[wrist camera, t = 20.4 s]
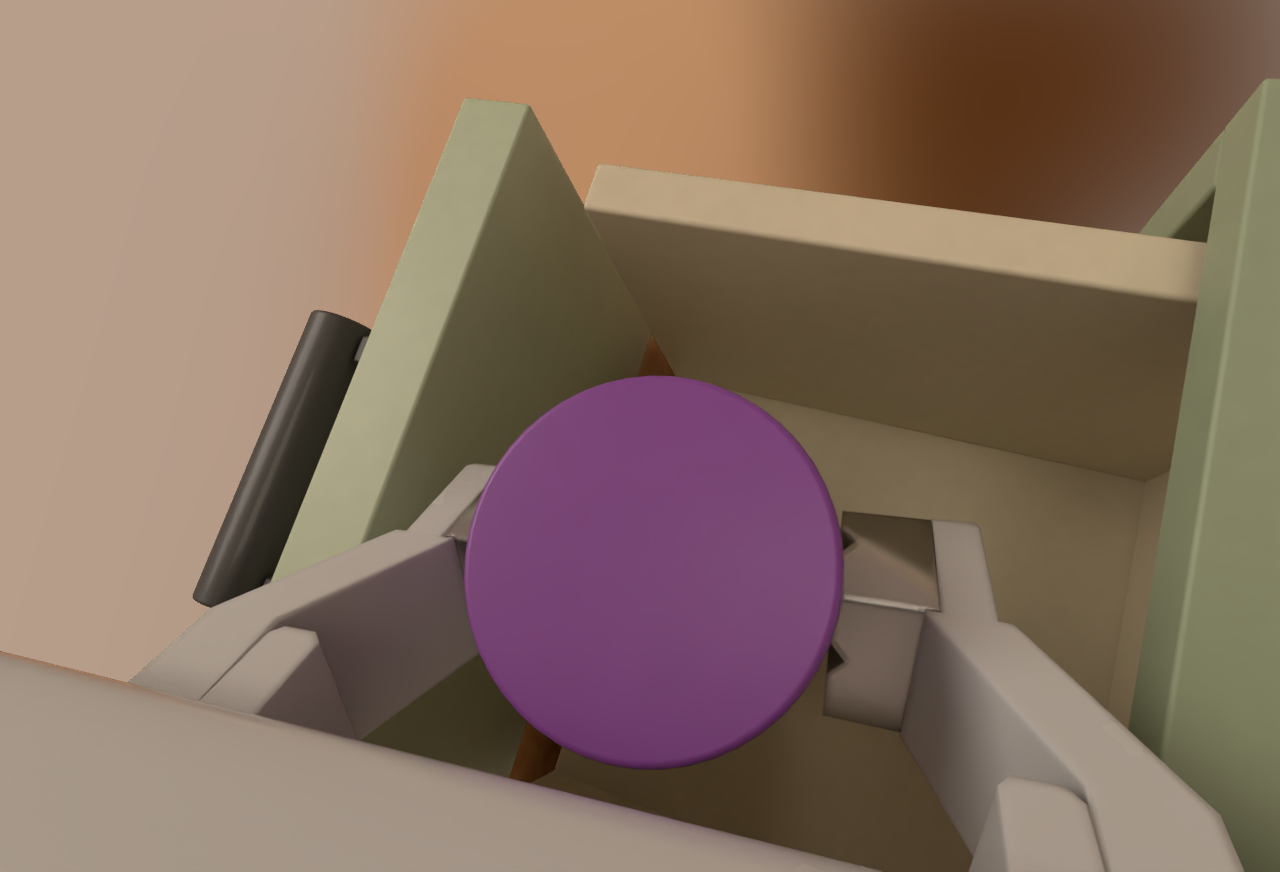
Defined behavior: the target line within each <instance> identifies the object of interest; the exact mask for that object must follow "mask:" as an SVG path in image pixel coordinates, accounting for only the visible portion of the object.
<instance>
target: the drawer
mask: <svg viewBox="0 0 1280 872" xmlns="http://www.w3.org/2000/svg"><path fill="white" fill-rule="evenodd" d="M1206 246H1207V243H1203V242H1196V241H1188V240H1180V239H1173V238H1165V237H1157V236H1150V235H1142V234H1134V233H1127V232H1119V231H1112V230H1104V229H1097V228H1089V227H1081V226H1073V225H1066V224H1058V223H1051V222H1043V221H1036V220H1027V219H1020V218H1013V217H1005V216H997V215H989V214H982V213H975V212H967V211H959V210H952V209H944V208H936V207H929V206H921V205H914V204H906V203H898V202H891V201H882V200H876V199H867V198H860V197H853V196H845V195H837V194H830V193H822V192H815V191H807V190H799V189H792V188H784V187H777V186H768V185H761V184H754V183H746V182H738V181H731V180H723V179H716V178H708V177H700V176H692V175H685V174H678V173H670V172H662V171H655V170H647V169H639V168H632V167H624V166H617V165H609V164H599V165H598V167H597V169H596V173H595V175H594V178H593V181H592V184H591V186H590V189H589V192H588V195H587V198H586V201H585V204H584V205H583V203H582V201H581V199H580V197H579V196H578V193H577V192H576V190H575V188H574V186H573V184H572V182H571V181H570V179H569V177H568V175H567V173H566V171H565V169H564V168H563V166H562V164H561V162H560V160H559V158H558V157H557V155H556V153H555V151H554V149H553V147H552V145H551V143H550V142H549V140H548V138H547V136H546V134H545V132H544V130H543V129H542V127H541V125H540V123H539V121H538V119H537V118H536V116H535V114H534V112H533V110H532V108H531V106H529V105H527V104H519V103H510V102H501V101H492V100H482V99H473V98H465V99H464V101H463V103H462V106H461V108H460V111H459V113H458V116H457V118H456V121H455V123H454V126H453V128H452V131H451V134H450V136H449V138H448V141H447V143H446V146H445V148H444V151H443V153H442V156H441V158H440V161H439V163H438V166H437V168H436V171H435V173H434V176H433V179H432V181H431V184H430V186H429V189H428V191H427V194H426V196H425V198H424V201H423V203H422V206H421V208H420V211H419V213H418V216H417V218H416V221H415V223H414V226H413V228H412V231H411V233H410V236H409V238H408V241H407V243H406V246H405V248H404V251H403V253H402V256H401V258H400V261H399V263H398V266H397V268H396V271H395V273H394V276H393V278H392V281H391V283H390V286H389V288H388V291H387V293H386V296H385V298H384V301H383V303H382V306H381V308H380V311H379V313H378V316H377V318H376V320H375V323H374V325H373V328H372V330H371V329H369V328H367V327H366V326H363V325H362V324H360V323H358V322H356V321H353V320H351V319H348V318H346V317H343V316H340V315H338V314H334V313H331V312H327V311H319V310H315V311H313V312H312V313H311V315H310V317H309V319H308V322H307V324H306V327H305V329H304V332H303V334H302V336H301V339H300V341H299V344H298V346H297V348H296V351H295V353H294V355H293V358H292V360H291V363H290V365H289V367H288V369H287V372H286V374H285V377H284V379H283V381H282V384H281V386H280V388H279V391H278V393H277V396H276V398H275V400H274V403H273V405H272V407H271V410H270V412H269V415H268V417H267V419H266V422H265V424H264V426H263V429H262V431H261V434H260V436H259V438H258V441H257V443H256V446H255V448H254V450H253V453H252V455H251V457H250V460H249V462H248V465H247V467H246V469H245V472H244V474H243V476H242V479H241V481H240V484H239V486H238V488H237V491H236V493H235V495H234V498H233V500H232V503H231V505H230V507H229V510H228V512H227V514H226V517H225V519H224V522H223V524H222V526H221V529H220V531H219V534H218V536H217V538H216V541H215V543H214V546H213V548H212V550H211V553H210V555H209V557H208V560H207V562H206V564H205V567H204V569H203V572H202V574H201V576H200V579H199V581H198V583H197V586H196V588H195V591H194V593H193V599H194V600H195V601H197V602H199V603H200V604H202V605H205V606H207V607H210V608H212V607H214V606H217V605H219V604H221V603H224V602H226V601H228V600H231V599H233V598H235V597H238V596H240V595H242V594H245V593H247V592H250V591H252V590H254V589H257V588H259V587H261V586H264V585H266V584H268V583H271V582H273V581H276V580H278V579H280V578H283V577H285V576H287V575H290V574H292V573H294V572H297V571H299V570H301V569H304V568H306V567H309V566H311V565H313V564H316V563H318V562H320V561H323V560H325V559H327V558H330V557H332V556H335V555H337V554H339V553H342V552H344V551H346V550H349V549H351V548H353V547H356V546H358V545H360V544H363V543H365V542H368V541H370V540H372V539H375V538H377V537H379V536H382V535H384V534H386V533H389V532H391V531H394V530H403V531H407V530H408V529H409V527H410V526H411V525H412V524H413V523H414V522H415V521H416V520H417V519H418V518H419V517H420V515H421V514H422V513H423V512H424V511H425V510H426V509H427V508H428V507H429V506H430V505H431V503H432V502H433V501H434V500H435V499H436V498H437V497H438V496H439V495H440V494H441V493H442V491H443V490H444V489H445V488H446V487H447V486H448V485H449V484H450V483H451V482H452V481H453V479H454V478H455V477H456V476H457V475H458V474H459V473H460V472H461V471H462V470H463V469H464V468H465V467H466V466H467V465H471V464H475V463H477V464H485V465H493V466H496V465H497V464H498V462H499V461H500V460H501V458H502V457H503V456H504V454H505V453H506V451H507V450H508V449H509V447H510V446H511V445H512V444H513V443H514V442H515V441H516V440H517V438H518V437H519V436H520V435H521V434H522V433H523V432H524V431H525V430H526V429H527V428H528V427H529V426H530V425H532V424H533V423H534V422H535V421H536V420H537V419H539V418H540V417H541V416H542V415H543V414H545V413H546V412H548V411H549V410H551V409H552V408H554V407H555V406H557V405H558V404H560V403H561V402H563V401H565V400H567V399H569V398H571V397H573V396H574V395H576V394H578V393H580V392H582V391H585V390H588V389H590V388H593V387H596V386H599V385H601V384H604V383H608V382H613V381H617V380H621V379H626V378H633V377H637V376H638V373H639V370H640V367H641V363H642V360H643V357H644V354H645V351H646V348H647V345H648V342H649V338H650V335H651V333H652V335H653V337H654V338H655V340H656V342H657V344H658V346H659V348H660V349H661V351H662V353H663V355H664V357H665V359H666V361H667V362H668V364H669V366H670V368H671V370H672V372H673V373H674V375H675V377H682V378H689V379H695V380H699V381H703V382H706V383H710V384H713V385H717V386H720V387H722V388H724V389H727V390H729V391H731V392H734V393H736V394H738V395H741V396H742V397H744V398H746V399H747V400H749V401H751V402H752V403H754V404H756V405H757V406H759V407H761V408H762V409H764V410H765V411H766V412H767V413H769V414H770V415H771V416H772V417H774V418H775V419H776V420H777V421H779V422H780V423H781V424H782V425H783V426H784V427H785V428H786V429H787V430H788V431H789V432H790V433H791V434H792V435H793V436H794V437H795V438H796V440H797V441H798V442H799V443H800V444H801V446H802V447H803V448H804V450H805V451H806V453H807V454H808V455H809V457H810V458H811V459H812V461H813V462H814V464H815V466H816V467H817V469H818V471H819V473H820V475H821V477H822V479H823V480H824V482H825V484H826V486H827V489H828V491H829V494H830V497H831V499H832V502H833V504H834V507H835V510H836V514H837V518H838V522H839V526H840V523H841V515H842V510H845V511H854V512H863V513H872V514H881V515H890V516H899V517H909V518H918V519H927V520H930V519H938V520H949V521H960V522H971V523H976V524H977V525H978V526H979V527H980V529H981V533H982V538H983V543H984V548H985V553H986V558H987V563H988V568H989V573H990V578H991V582H992V587H993V592H994V597H995V602H996V607H997V612H998V617H999V622H1003V623H1009V624H1014V625H1016V626H1017V627H1018V628H1019V629H1020V630H1021V631H1022V632H1023V633H1024V634H1025V635H1026V636H1027V637H1029V638H1030V639H1031V640H1032V641H1033V642H1034V643H1035V644H1036V645H1037V646H1038V647H1039V648H1040V649H1042V650H1043V651H1044V652H1045V653H1046V654H1047V655H1048V656H1049V657H1050V658H1051V659H1052V660H1053V661H1055V662H1056V663H1057V664H1058V665H1059V666H1060V667H1061V668H1062V669H1063V670H1064V671H1065V672H1066V673H1067V674H1069V675H1070V676H1071V677H1072V678H1073V679H1074V680H1075V681H1076V682H1077V683H1078V684H1079V685H1080V686H1082V687H1083V688H1084V689H1085V690H1086V691H1087V692H1088V693H1089V694H1090V695H1091V696H1092V697H1093V698H1094V699H1096V700H1097V701H1098V702H1099V703H1100V704H1101V705H1102V706H1103V707H1104V708H1105V709H1106V710H1107V711H1109V712H1110V713H1111V714H1112V715H1113V716H1114V717H1115V718H1116V719H1117V720H1118V721H1119V722H1120V723H1121V724H1123V725H1124V726H1125V727H1126V728H1127V729H1128V727H1129V721H1130V715H1131V709H1132V702H1133V696H1134V690H1135V684H1136V678H1137V672H1138V665H1139V659H1140V653H1141V647H1142V641H1143V635H1144V628H1145V622H1146V616H1147V610H1148V604H1149V598H1150V591H1151V585H1152V579H1153V573H1154V567H1155V561H1156V554H1157V548H1158V542H1159V536H1160V530H1161V524H1162V517H1163V511H1164V505H1165V499H1166V493H1167V487H1168V480H1169V474H1170V468H1171V462H1172V456H1173V450H1174V443H1175V437H1176V431H1177V425H1178V419H1179V413H1180V406H1181V400H1182V394H1183V388H1184V382H1185V376H1186V369H1187V363H1188V357H1189V351H1190V345H1191V339H1192V332H1193V326H1194V320H1195V314H1196V308H1197V302H1198V295H1199V289H1200V283H1201V277H1202V271H1203V265H1204V258H1205V252H1206ZM827 654H828V651H827V653H826V655H825V657H824V659H823V661H822V663H821V665H820V667H819V670H818V671H817V673H816V674H815V676H814V677H813V679H812V680H811V682H810V683H809V685H808V687H807V688H806V690H805V691H804V693H803V694H802V695H801V696H800V697H799V699H798V700H797V701H796V702H795V703H794V704H793V705H792V707H791V708H790V709H789V710H788V711H787V712H786V713H785V714H784V716H782V717H781V718H780V719H779V720H778V721H776V722H775V723H774V724H773V725H772V726H771V727H769V728H768V729H767V730H766V731H765V732H764V733H762V734H761V735H759V736H758V737H756V738H754V739H753V740H751V741H750V742H748V743H746V744H745V745H743V746H742V747H740V748H738V749H736V750H734V751H732V752H729V753H727V754H725V755H723V756H720V757H718V758H716V759H713V760H710V761H706V762H703V763H699V764H695V765H692V766H688V767H681V768H673V769H665V770H635V769H628V768H622V767H616V766H611V765H606V764H603V763H600V762H597V761H594V760H591V759H588V758H585V757H582V756H580V755H578V754H576V753H574V752H572V751H570V750H568V749H566V748H564V747H562V748H561V751H560V754H559V757H558V761H557V764H556V767H555V770H554V771H552V772H550V773H548V774H546V775H544V776H543V777H541V778H539V779H537V780H535V781H533V782H532V783H531V784H535V785H539V786H543V787H547V788H551V789H555V790H559V791H563V792H567V793H571V794H575V795H579V796H583V797H587V798H591V799H595V800H599V801H603V802H607V803H611V804H615V805H619V806H623V807H627V808H631V809H635V810H639V811H643V812H647V813H651V814H655V815H659V816H663V817H667V818H671V819H675V820H679V821H683V822H687V823H691V824H695V825H699V826H703V827H707V828H711V829H715V830H719V831H723V832H727V833H731V834H735V835H739V836H743V837H747V838H751V839H755V840H759V841H763V842H767V843H771V844H775V845H779V846H783V847H787V848H791V849H795V850H799V851H803V852H807V853H811V854H816V855H820V856H824V857H828V858H832V859H836V860H840V861H844V862H848V863H852V864H856V865H860V866H864V867H868V868H872V869H876V870H880V871H884V872H969V869H970V866H971V863H972V860H973V856H972V854H971V852H970V851H969V849H968V848H967V846H966V844H965V843H964V841H963V839H962V838H961V836H960V834H959V833H958V831H957V829H956V828H955V826H954V824H953V823H952V821H951V820H950V818H949V816H948V815H947V813H946V811H945V810H944V808H943V806H942V805H941V803H940V801H939V800H938V798H937V796H936V795H935V793H934V791H933V790H932V788H931V787H930V785H929V783H928V782H927V780H926V778H925V777H924V775H923V773H922V772H921V770H920V768H919V767H918V765H917V763H916V762H915V760H914V759H913V757H912V755H911V754H910V752H909V750H908V749H907V747H906V745H905V744H904V742H903V740H902V739H901V737H900V732H895V731H891V730H886V729H882V728H878V727H873V726H869V725H864V724H860V723H855V722H851V721H846V720H842V719H837V718H833V717H828V716H824V715H823V704H824V689H825V675H826V663H827ZM526 724H527V720H526V719H524V718H523V717H522V716H521V715H520V714H519V713H518V712H517V711H516V709H515V708H514V707H513V706H512V705H511V703H510V702H509V701H508V700H507V699H506V698H505V696H504V695H503V694H502V692H501V691H500V689H499V687H498V686H497V684H496V683H495V681H494V680H493V678H492V677H491V675H490V673H489V672H488V669H487V667H486V665H485V663H484V661H483V659H482V657H481V655H480V653H479V654H478V655H477V656H475V657H474V658H473V659H471V660H470V661H468V662H467V663H466V664H464V665H463V666H461V667H460V668H459V669H457V670H456V671H455V672H453V673H452V674H450V675H449V676H448V677H446V678H445V679H443V680H442V681H441V682H439V683H438V684H437V685H435V686H434V687H432V688H431V689H430V690H428V691H427V692H425V693H424V694H423V695H421V696H420V697H419V698H417V699H416V700H414V701H413V702H412V703H410V704H409V705H407V706H406V707H405V708H403V709H402V710H401V711H399V712H398V713H396V714H395V715H394V716H392V717H391V718H389V719H388V720H387V721H385V722H384V723H383V724H381V725H380V726H378V727H377V728H376V729H374V730H373V731H372V732H370V733H369V734H367V735H366V736H365V737H363V738H362V739H360V740H359V741H363V742H367V743H371V744H375V745H379V746H383V747H387V748H391V749H395V750H399V751H403V752H407V753H411V754H415V755H419V756H423V757H427V758H431V759H435V760H439V761H443V762H447V763H451V764H455V765H459V766H463V767H467V768H471V769H475V770H479V771H483V772H487V773H491V774H495V775H499V776H503V777H507V778H509V777H510V774H511V771H512V767H513V764H514V761H515V758H516V755H517V752H518V749H519V746H520V742H521V739H522V736H523V733H524V730H525V727H526Z"/></svg>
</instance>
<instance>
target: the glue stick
mask: <svg viewBox="0 0 1280 872" xmlns="http://www.w3.org/2000/svg"><path fill="white" fill-rule="evenodd" d="M464 583H465V597H466V606H467V611H468V616H469V621H470V626H471V629H472V632H473V635H474V638H475V641H476V644H477V648H478V650H479V653H480V655H481V657H482V659H483V661H484V663H485V665H486V667H487V669H488V672H489V673H490V675H491V677H492V678H493V680H494V681H495V683H496V684H497V686H498V687H499V689H500V691H501V692H502V694H503V695H504V696H505V698H506V699H507V700H508V701H509V702H510V703H511V705H512V706H513V707H514V708H515V709H516V711H517V712H518V713H519V714H520V715H521V716H522V717H523V718H524V719H526V720H527V721H528V722H529V723H530V724H531V725H532V726H533V727H534V728H536V729H537V730H538V731H539V732H540V733H542V734H543V735H545V736H546V737H548V738H549V739H551V740H552V741H554V742H555V743H557V744H558V745H560V746H562V747H564V748H566V749H568V750H570V751H572V752H574V753H576V754H578V755H580V756H582V757H585V758H588V759H591V760H594V761H597V762H600V763H603V764H606V765H611V766H616V767H622V768H628V769H635V770H665V769H673V768H681V767H688V766H692V765H695V764H699V763H703V762H706V761H710V760H713V759H716V758H718V757H720V756H723V755H725V754H727V753H729V752H732V751H734V750H736V749H738V748H740V747H742V746H743V745H745V744H746V743H748V742H750V741H751V740H753V739H754V738H756V737H758V736H759V735H761V734H762V733H764V732H765V731H766V730H767V729H768V728H769V727H771V726H772V725H773V724H774V723H775V722H776V721H778V720H779V719H780V718H781V717H782V716H784V714H785V713H786V712H787V711H788V710H789V709H790V708H791V707H792V705H793V704H794V703H795V702H796V701H797V700H798V699H799V697H800V696H801V695H802V694H803V693H804V691H805V690H806V688H807V687H808V685H809V683H810V682H811V680H812V679H813V677H814V676H815V674H816V673H817V671H818V670H819V667H820V665H821V663H822V661H823V659H824V657H825V655H826V653H827V651H828V649H829V646H830V644H831V641H832V638H833V635H834V631H835V628H836V625H837V622H838V619H839V613H840V608H841V602H842V596H843V589H844V554H843V544H842V535H841V531H840V526H839V522H838V518H837V514H836V510H835V507H834V504H833V502H832V499H831V497H830V494H829V491H828V489H827V486H826V484H825V482H824V480H823V479H822V477H821V475H820V473H819V471H818V469H817V467H816V466H815V464H814V462H813V461H812V459H811V458H810V457H809V455H808V454H807V453H806V451H805V450H804V448H803V447H802V446H801V444H800V443H799V442H798V441H797V440H796V438H795V437H794V436H793V435H792V434H791V433H790V432H789V431H788V430H787V429H786V428H785V427H784V426H783V425H782V424H781V423H780V422H779V421H777V420H776V419H775V418H774V417H772V416H771V415H770V414H769V413H767V412H766V411H765V410H764V409H762V408H761V407H759V406H757V405H756V404H754V403H752V402H751V401H749V400H747V399H746V398H744V397H742V396H741V395H738V394H736V393H734V392H731V391H729V390H727V389H724V388H722V387H720V386H717V385H713V384H710V383H706V382H703V381H699V380H695V379H689V378H682V377H675V376H643V377H633V378H626V379H621V380H617V381H613V382H608V383H604V384H601V385H599V386H596V387H593V388H590V389H588V390H585V391H582V392H580V393H578V394H576V395H574V396H573V397H571V398H569V399H567V400H565V401H563V402H561V403H560V404H558V405H557V406H555V407H554V408H552V409H551V410H549V411H548V412H546V413H545V414H543V415H542V416H541V417H540V418H539V419H537V420H536V421H535V422H534V423H533V424H532V425H530V426H529V427H528V428H527V429H526V430H525V431H524V432H523V433H522V434H521V435H520V436H519V437H518V438H517V440H516V441H515V442H514V443H513V444H512V445H511V446H510V447H509V449H508V450H507V451H506V453H505V454H504V456H503V457H502V458H501V460H500V461H499V462H498V464H497V465H496V467H495V469H494V471H493V472H492V474H491V476H490V478H489V479H488V481H487V483H486V485H485V487H484V489H483V492H482V494H481V496H480V499H479V501H478V504H477V506H476V509H475V512H474V516H473V519H472V522H471V526H470V529H469V535H468V541H467V547H466V553H465V571H464Z"/></svg>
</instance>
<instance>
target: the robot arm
mask: <svg viewBox="0 0 1280 872" xmlns="http://www.w3.org/2000/svg"><path fill="white" fill-rule="evenodd" d="M495 467H496V466H493V465H485V464H477V463H475V464H471V465H467V466H466V467H465V468H464V469H463V470H462V471H461V472H460V473H459V474H458V475H457V476H456V477H455V478H454V479H453V481H452V482H451V483H450V484H449V485H448V486H447V487H446V488H445V489H444V490H443V491H442V493H441V494H440V495H439V496H438V497H437V498H436V499H435V500H434V501H433V502H432V503H431V505H430V506H429V507H428V508H427V509H426V510H425V511H424V512H423V513H422V514H421V515H420V517H419V518H418V519H417V520H416V521H415V522H414V523H413V524H412V525H411V526H410V527H409V529H408V530H407V531H403V530H394V531H391V532H389V533H386V534H384V535H382V536H379V537H377V538H375V539H372V540H370V541H368V542H365V543H363V544H360V545H358V546H356V547H353V548H351V549H349V550H346V551H344V552H342V553H339V554H337V555H335V556H332V557H330V558H327V559H325V560H323V561H320V562H318V563H316V564H313V565H311V566H309V567H306V568H304V569H301V570H299V571H297V572H294V573H292V574H290V575H287V576H285V577H283V578H280V579H278V580H276V581H273V582H271V583H268V584H266V585H264V586H261V587H259V588H257V589H254V590H252V591H250V592H247V593H245V594H242V595H240V596H238V597H235V598H233V599H231V600H228V601H226V602H224V603H221V604H219V605H217V606H214V607H212V608H211V609H210V610H209V611H207V612H206V613H205V614H204V615H203V616H202V617H201V618H199V619H198V620H197V621H196V622H195V623H194V624H193V625H192V626H190V627H189V628H188V629H187V630H186V631H185V632H184V633H183V634H182V635H180V636H179V637H178V638H177V639H176V640H175V641H174V642H173V643H172V644H170V645H169V646H168V647H167V648H166V649H165V650H164V651H162V652H161V653H160V654H159V655H158V656H157V657H156V658H155V659H154V660H152V661H151V662H150V663H149V664H148V665H147V666H146V667H144V668H143V669H142V670H141V671H140V672H139V673H138V674H137V675H136V676H134V677H133V678H132V679H131V680H130V681H129V682H128V683H127V682H122V681H118V680H114V679H111V678H107V677H102V676H98V675H95V674H91V673H87V672H83V671H79V670H75V669H70V668H67V667H62V666H59V665H54V664H50V663H46V662H43V661H39V660H34V659H30V658H26V657H22V656H18V655H14V654H10V653H6V652H2V651H0V872H884V871H880V870H876V869H872V868H868V867H864V866H860V865H856V864H852V863H848V862H844V861H840V860H836V859H832V858H828V857H824V856H820V855H816V854H811V853H807V852H803V851H799V850H795V849H791V848H787V847H783V846H779V845H775V844H771V843H767V842H763V841H759V840H755V839H751V838H747V837H743V836H739V835H735V834H731V833H727V832H723V831H719V830H715V829H711V828H707V827H703V826H699V825H695V824H691V823H687V822H683V821H679V820H675V819H671V818H667V817H663V816H659V815H655V814H651V813H647V812H643V811H639V810H635V809H631V808H627V807H623V806H619V805H615V804H611V803H607V802H603V801H599V800H595V799H591V798H587V797H583V796H579V795H575V794H571V793H567V792H563V791H559V790H555V789H551V788H547V787H543V786H539V785H535V784H531V783H527V782H523V781H519V780H515V779H511V778H507V777H503V776H499V775H495V774H491V773H487V772H483V771H479V770H475V769H471V768H467V767H463V766H459V765H455V764H451V763H447V762H443V761H439V760H435V759H431V758H427V757H423V756H419V755H415V754H411V753H407V752H403V751H399V750H395V749H391V748H387V747H383V746H379V745H375V744H371V743H367V742H363V741H359V740H360V739H362V738H363V737H365V736H366V735H367V734H369V733H370V732H372V731H373V730H374V729H376V728H377V727H378V726H380V725H381V724H383V723H384V722H385V721H387V720H388V719H389V718H391V717H392V716H394V715H395V714H396V713H398V712H399V711H401V710H402V709H403V708H405V707H406V706H407V705H409V704H410V703H412V702H413V701H414V700H416V699H417V698H419V697H420V696H421V695H423V694H424V693H425V692H427V691H428V690H430V689H431V688H432V687H434V686H435V685H437V684H438V683H439V682H441V681H442V680H443V679H445V678H446V677H448V676H449V675H450V674H452V673H453V672H455V671H456V670H457V669H459V668H460V667H461V666H463V665H464V664H466V663H467V662H468V661H470V660H471V659H473V658H474V657H475V656H477V655H478V654H479V650H478V648H477V644H476V641H475V638H474V635H473V632H472V629H471V626H470V621H469V616H468V611H467V606H466V597H465V583H464V571H465V553H466V547H467V541H468V535H469V529H470V526H471V522H472V519H473V516H474V512H475V509H476V506H477V504H478V501H479V499H480V496H481V494H482V492H483V489H484V487H485V485H486V483H487V481H488V479H489V478H490V476H491V474H492V472H493V471H494V469H495ZM840 531H841V535H842V544H843V554H844V589H843V596H842V602H841V608H840V613H839V619H838V622H837V625H836V628H835V631H834V635H833V638H832V641H831V644H830V646H829V649H828V654H827V663H826V675H825V689H824V704H823V715H824V716H828V717H833V718H837V719H842V720H846V721H851V722H855V723H860V724H864V725H869V726H873V727H878V728H882V729H886V730H891V731H895V732H900V737H901V739H902V740H903V742H904V744H905V745H906V747H907V749H908V750H909V752H910V754H911V755H912V757H913V759H914V760H915V762H916V763H917V765H918V767H919V768H920V770H921V772H922V773H923V775H924V777H925V778H926V780H927V782H928V783H929V785H930V787H931V788H932V790H933V791H934V793H935V795H936V796H937V798H938V800H939V801H940V803H941V805H942V806H943V808H944V810H945V811H946V813H947V815H948V816H949V818H950V820H951V821H952V823H953V824H954V826H955V828H956V829H957V831H958V833H959V834H960V836H961V838H962V839H963V841H964V843H965V844H966V846H967V848H968V849H969V851H970V852H971V854H972V856H973V860H972V863H971V866H970V869H969V872H1244V870H1243V867H1242V865H1241V863H1240V860H1239V858H1238V855H1237V853H1236V851H1235V848H1234V846H1233V844H1232V841H1231V839H1230V837H1229V834H1228V832H1227V830H1226V827H1225V825H1224V822H1223V820H1222V818H1221V815H1220V814H1219V813H1218V812H1217V811H1215V810H1214V809H1213V808H1212V807H1211V806H1210V805H1209V804H1208V803H1207V802H1206V801H1205V800H1204V799H1203V798H1201V797H1200V796H1199V795H1198V794H1197V793H1196V792H1195V791H1194V790H1193V789H1192V788H1191V787H1190V786H1188V785H1187V784H1186V783H1185V782H1184V781H1183V780H1182V779H1181V778H1180V777H1179V776H1178V775H1177V774H1176V773H1174V772H1173V771H1172V770H1171V769H1170V768H1169V767H1168V766H1167V765H1166V764H1165V763H1164V762H1163V761H1161V760H1160V759H1159V758H1158V757H1157V756H1156V755H1155V754H1154V753H1153V752H1152V751H1151V750H1150V749H1149V748H1147V747H1146V746H1145V745H1144V744H1143V743H1142V742H1141V741H1140V740H1139V739H1138V738H1137V737H1136V736H1134V735H1133V734H1132V733H1131V732H1130V731H1129V730H1128V729H1127V728H1126V727H1125V726H1124V725H1123V724H1121V723H1120V722H1119V721H1118V720H1117V719H1116V718H1115V717H1114V716H1113V715H1112V714H1111V713H1110V712H1109V711H1107V710H1106V709H1105V708H1104V707H1103V706H1102V705H1101V704H1100V703H1099V702H1098V701H1097V700H1096V699H1094V698H1093V697H1092V696H1091V695H1090V694H1089V693H1088V692H1087V691H1086V690H1085V689H1084V688H1083V687H1082V686H1080V685H1079V684H1078V683H1077V682H1076V681H1075V680H1074V679H1073V678H1072V677H1071V676H1070V675H1069V674H1067V673H1066V672H1065V671H1064V670H1063V669H1062V668H1061V667H1060V666H1059V665H1058V664H1057V663H1056V662H1055V661H1053V660H1052V659H1051V658H1050V657H1049V656H1048V655H1047V654H1046V653H1045V652H1044V651H1043V650H1042V649H1040V648H1039V647H1038V646H1037V645H1036V644H1035V643H1034V642H1033V641H1032V640H1031V639H1030V638H1029V637H1027V636H1026V635H1025V634H1024V633H1023V632H1022V631H1021V630H1020V629H1019V628H1018V627H1017V626H1016V625H1014V624H1009V623H1003V622H999V617H998V612H997V607H996V602H995V597H994V592H993V587H992V582H991V578H990V573H989V568H988V563H987V558H986V553H985V548H984V543H983V538H982V533H981V529H980V527H979V526H978V525H977V524H976V523H971V522H960V521H949V520H938V519H930V520H927V519H918V518H909V517H899V516H890V515H881V514H872V513H863V512H854V511H845V510H842V515H841V523H840Z"/></svg>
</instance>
